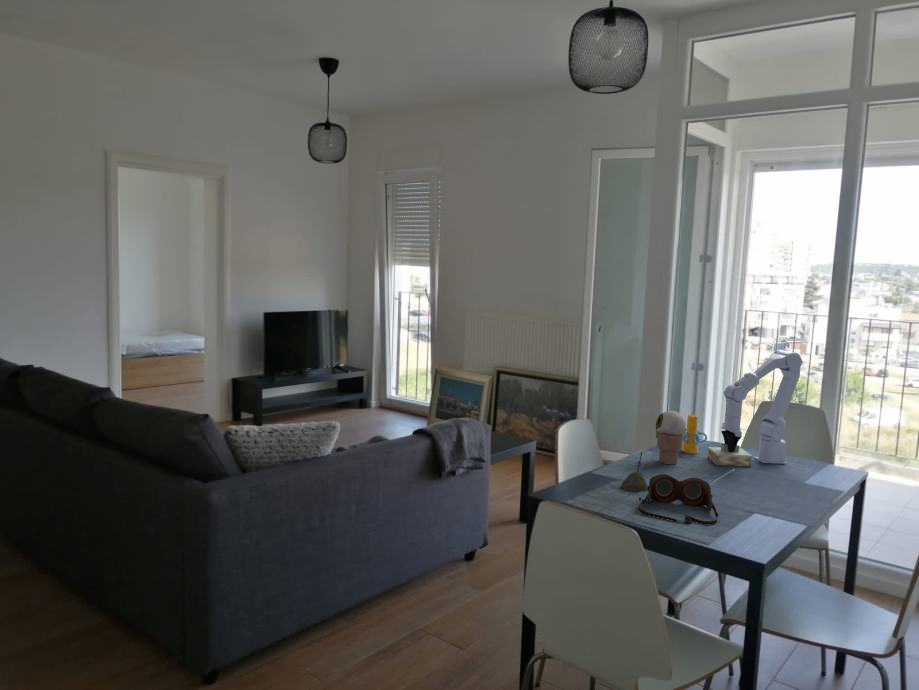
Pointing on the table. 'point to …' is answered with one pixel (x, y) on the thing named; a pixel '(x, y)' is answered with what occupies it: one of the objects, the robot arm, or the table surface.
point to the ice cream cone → (669, 435)
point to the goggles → (679, 495)
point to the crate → (729, 460)
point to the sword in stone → (635, 481)
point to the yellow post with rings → (692, 435)
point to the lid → (724, 452)
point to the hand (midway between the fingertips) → (729, 450)
